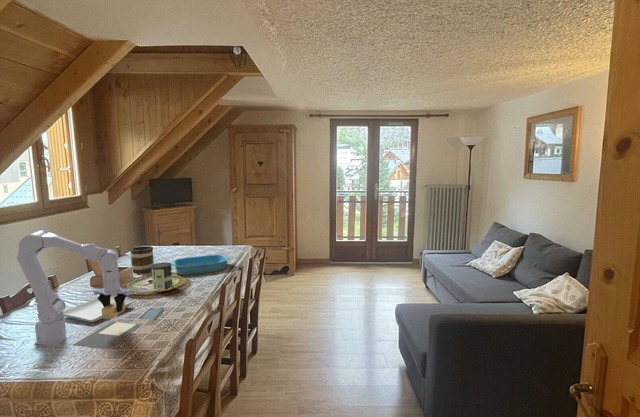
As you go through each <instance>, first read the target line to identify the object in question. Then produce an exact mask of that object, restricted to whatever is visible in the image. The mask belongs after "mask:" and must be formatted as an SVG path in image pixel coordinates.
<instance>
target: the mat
mask: <svg viewBox="0 0 640 417" xmlns="http://www.w3.org/2000/svg"><path fill="white" fill-rule="evenodd" d="M142 325H143V324H141V323H130V322H120V321H110V322H109V323H107V324H106V325H104V326H102V327H101V328H99V329H97V330H95V331H94V332H92V333H90V334H89V335H87V336H85V337H84V338H82V339H80V340H79V341H77V342H75V343H74V344H72V346H75V347H76V346H77V347H86V348H95V349H103V350H104V349H105V350H106V349H108V348H109V347H111V346H112V345H114V344H116V343H118V342H119V341H120V340H122V339H123V338H125V337H126V336H127V335H130V333H132V332H134V331H135V330H136V329H138V328H140V326H142Z"/></svg>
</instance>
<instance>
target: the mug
mask: <svg viewBox="0 0 640 417" xmlns="http://www.w3.org/2000/svg"><path fill="white" fill-rule="evenodd" d="M129 250H130V262H131V270H132V269H133V272H132V273H133V274H146V273H149V272H151V273H152V268H151V266H152V265H154V264H155V263H154V260H155V258H154V251H153V250H154V247H153V246H151V245H140V246H139V245H138V246H134V247H132V248H130V249H129Z"/></svg>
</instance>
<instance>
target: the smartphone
mask: <svg viewBox="0 0 640 417" xmlns="http://www.w3.org/2000/svg"><path fill="white" fill-rule="evenodd" d="M164 310H165V308H164V307H163V308H162V307H160V308H156V307H155V308H148V309H147V310H146V312H144V313H143V314H142V316H140V317H139V320H146V321H156V320H157V318H158V317H159V316H160V315H161V314H162V313H163V312H164Z"/></svg>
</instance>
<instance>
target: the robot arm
mask: <svg viewBox="0 0 640 417" xmlns="http://www.w3.org/2000/svg"><path fill="white" fill-rule="evenodd" d="M55 247H56V248H60V249H63V250H67V251H70V252H74V253H78V255H79V257H81V258H82V259H86V260H89V261H93V262H96V263H99V265H101V269H102V270H101V275H102V285H103V288H96V289H94V290H93V295H94V296H97V295H99V296H97V298H98V300H99V301H100V302H101V303H102V305H103V307H105V306H107V305H109V304H110V298H112V297H111V296H112V295H116V296H114V297H113V298H114V300H115V302H116V306H117V312H120V311H122V307H123V303H124V300H126V298H127V296H129V295H131V294H132V292H131V289H130V288H129V289H128V288H123V287H121V284H120V283H121V282H120V273H119V266H118V264H119V263H118V260H119V257H120V256H119V253H118V252H117V251H116V250H114V249H113V248H110V249H108V248H106V247H105V248H104V247H100V246H98V245H96V244H95V243H92V242H91V243H85V244H81V243H79V242H77V241H73V240H71V239H68V238H65V237H63V236H60V235H58V234H57V233H53V232H51V231H50V232H48V231H46V230H43V229H42V230H41V229H40V230H36V231H35V232H32V233H31V234H26V235H25V236H24V237H23V238H22V239H21V240H20V241H19V242H18V251H17V256H16V258H17V262H18V263H19V266H20V267H21V270H22V271H23V274H24V276H25V278H26V280H27V282H28V284H29V286H30V288H31V289H32V292H33V294H34V296H35V298H36V300H37V303H36V309H37V318H38V321H37V322H36V323H35V327H34V332H35V340H36V341H35V342H34V344H35V345H46V346H56V345H58V344H60V343H62V342H64V341H66V340H68V339H70V338H71V337H72V336H73V335H72V334H67V328H66V327H67V326H66V321H65V320H66V319H65V316H64V314H63V312H64V311H65V309H66V306H67V305H66V302H65V301H64V300H62V299H61V297H60V296H59V295H58V294H56V293H55V292H54V290H53V288H52V286H51V284H50V282H49V280H48V277H47V276H46V274H45V272H44V270H43V268H42V266H41V263H40V262H39V260H38V256H39V254H40V253H41V251H42V250H43V249H48V248H55Z"/></svg>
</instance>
